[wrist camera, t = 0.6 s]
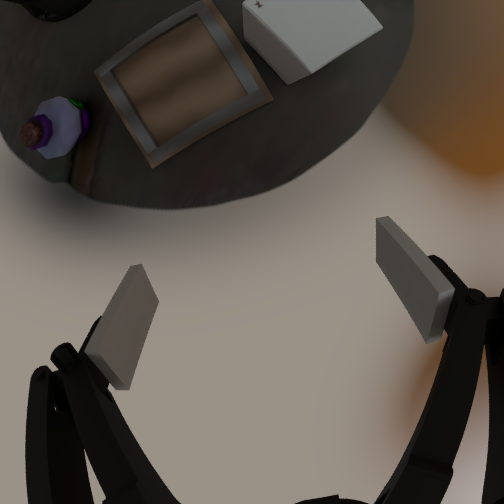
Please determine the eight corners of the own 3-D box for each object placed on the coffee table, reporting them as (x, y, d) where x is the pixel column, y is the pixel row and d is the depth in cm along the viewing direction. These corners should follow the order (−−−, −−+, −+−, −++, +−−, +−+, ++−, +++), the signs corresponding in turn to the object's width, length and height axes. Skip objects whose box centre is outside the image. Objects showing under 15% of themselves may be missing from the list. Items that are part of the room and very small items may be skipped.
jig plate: (100, 72, 31) (89, 71, 28) (210, 0, 27) (207, -7, 24) (156, 165, 38) (149, 170, 35) (272, 99, 34) (274, 99, 31)
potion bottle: (108, 99, 33) (61, 103, 22) (94, 155, 37) (48, 177, 26) (64, 90, 31) (12, 95, 21) (52, 143, 35) (2, 162, 25)
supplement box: (287, 87, 33) (310, 77, 20) (242, 39, 30) (237, 2, 17) (339, 52, 30) (387, 28, 17) (295, 4, 27) (319, -43, 14)
